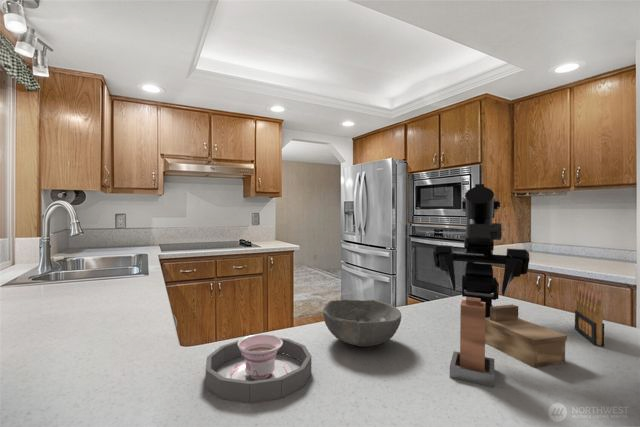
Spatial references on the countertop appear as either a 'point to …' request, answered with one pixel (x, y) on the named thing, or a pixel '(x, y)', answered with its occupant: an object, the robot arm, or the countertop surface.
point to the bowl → (361, 321)
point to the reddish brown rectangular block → (472, 334)
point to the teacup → (258, 358)
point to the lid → (521, 326)
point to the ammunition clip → (589, 316)
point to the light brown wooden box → (525, 348)
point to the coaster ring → (259, 388)
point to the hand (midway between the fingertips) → (477, 291)
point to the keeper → (473, 371)
